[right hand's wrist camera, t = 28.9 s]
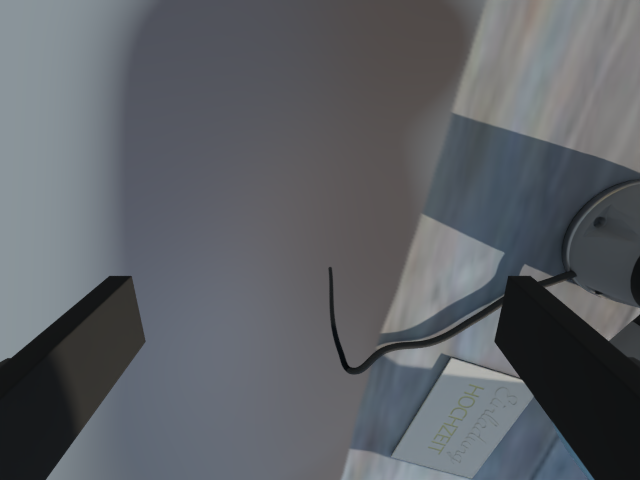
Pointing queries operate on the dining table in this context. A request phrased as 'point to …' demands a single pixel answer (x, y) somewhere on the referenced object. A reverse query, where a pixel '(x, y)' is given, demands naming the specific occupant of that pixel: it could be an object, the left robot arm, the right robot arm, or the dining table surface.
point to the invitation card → (463, 419)
